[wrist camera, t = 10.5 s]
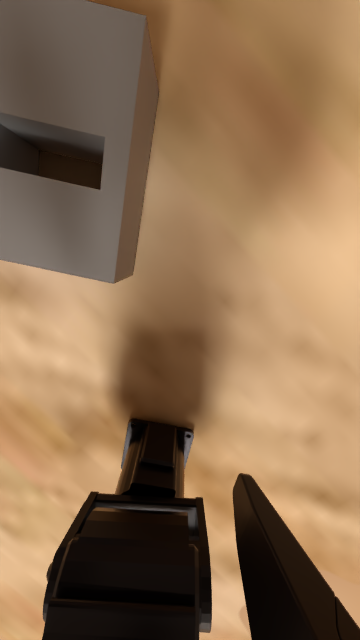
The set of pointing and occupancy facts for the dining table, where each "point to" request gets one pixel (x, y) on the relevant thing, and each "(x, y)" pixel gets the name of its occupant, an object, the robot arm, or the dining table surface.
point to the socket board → (74, 133)
